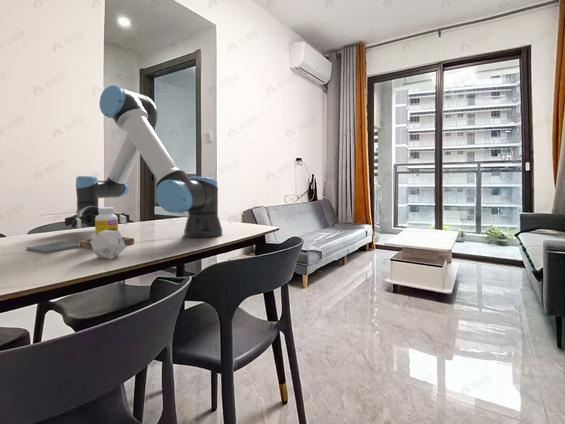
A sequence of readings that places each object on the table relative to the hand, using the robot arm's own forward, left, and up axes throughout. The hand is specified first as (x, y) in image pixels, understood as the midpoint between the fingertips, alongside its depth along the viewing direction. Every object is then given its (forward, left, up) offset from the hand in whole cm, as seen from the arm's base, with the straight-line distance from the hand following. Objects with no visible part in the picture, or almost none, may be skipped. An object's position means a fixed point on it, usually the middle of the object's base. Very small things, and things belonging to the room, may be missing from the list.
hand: (103, 222), depth 106 cm
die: (-17, +11, -8) cm, 22 cm away
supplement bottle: (-2, +1, -8) cm, 8 cm away
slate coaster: (+8, +12, -8) cm, 16 cm away
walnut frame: (-2, +1, -8) cm, 8 cm away
